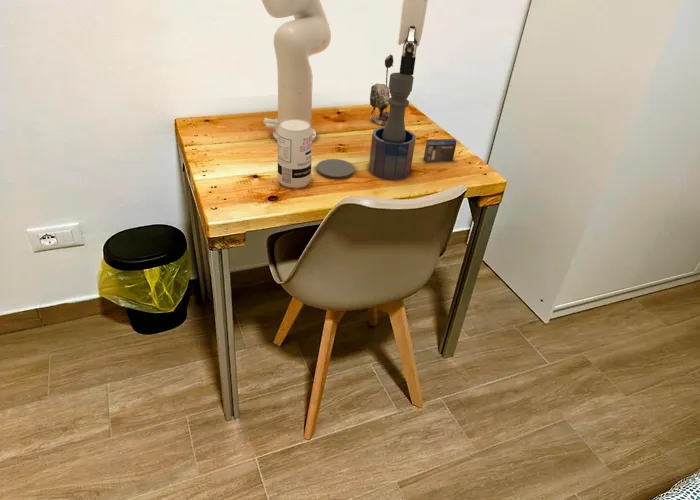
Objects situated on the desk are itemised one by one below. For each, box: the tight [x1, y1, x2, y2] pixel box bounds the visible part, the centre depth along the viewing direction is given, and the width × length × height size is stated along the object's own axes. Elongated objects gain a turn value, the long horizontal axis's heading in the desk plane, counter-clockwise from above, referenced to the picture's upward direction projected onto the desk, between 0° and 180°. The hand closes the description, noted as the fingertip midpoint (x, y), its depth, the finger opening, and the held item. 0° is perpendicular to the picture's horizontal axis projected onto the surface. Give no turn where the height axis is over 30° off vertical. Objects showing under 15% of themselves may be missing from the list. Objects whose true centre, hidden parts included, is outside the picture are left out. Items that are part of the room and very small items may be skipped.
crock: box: [368, 126, 417, 181], centre depth 137 cm, size 11×11×10 cm
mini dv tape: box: [423, 138, 457, 163], centre depth 146 cm, size 8×2×6 cm, turn 104°
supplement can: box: [277, 119, 313, 189], centre depth 127 cm, size 8×8×15 cm
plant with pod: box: [369, 54, 394, 126], centre depth 162 cm, size 8×11×20 cm
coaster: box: [315, 158, 356, 180], centre depth 138 cm, size 10×10×1 cm
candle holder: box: [382, 72, 415, 143], centre depth 133 cm, size 6×6×25 cm
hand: (407, 68), depth 125 cm, fingers open, 9 cm apart
